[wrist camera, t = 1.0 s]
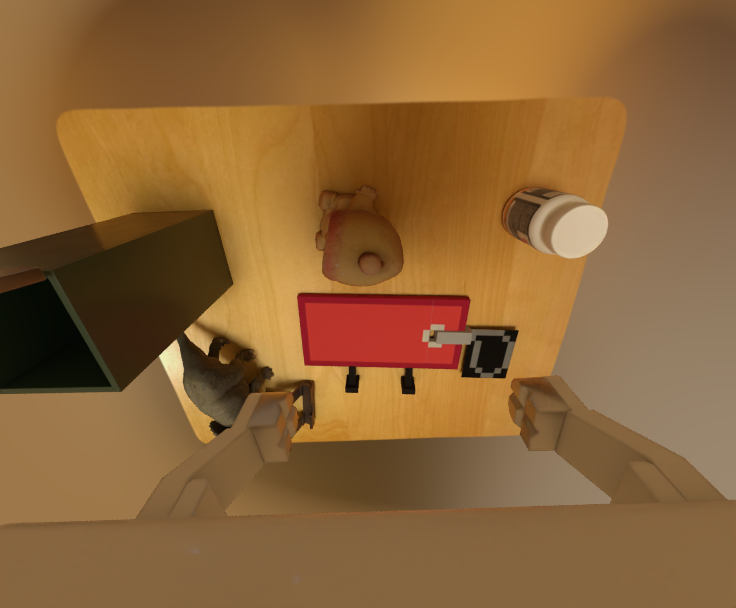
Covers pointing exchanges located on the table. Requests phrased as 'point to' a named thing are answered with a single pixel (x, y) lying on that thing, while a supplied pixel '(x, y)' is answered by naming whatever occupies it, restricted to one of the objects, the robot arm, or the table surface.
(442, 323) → the red board with handle
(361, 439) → the table surface
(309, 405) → the tablet stand
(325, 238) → the figurine
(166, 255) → the trash can
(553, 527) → the robot arm
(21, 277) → the trash can lid
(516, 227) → the pill bottle
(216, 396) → the toy dinosaur
